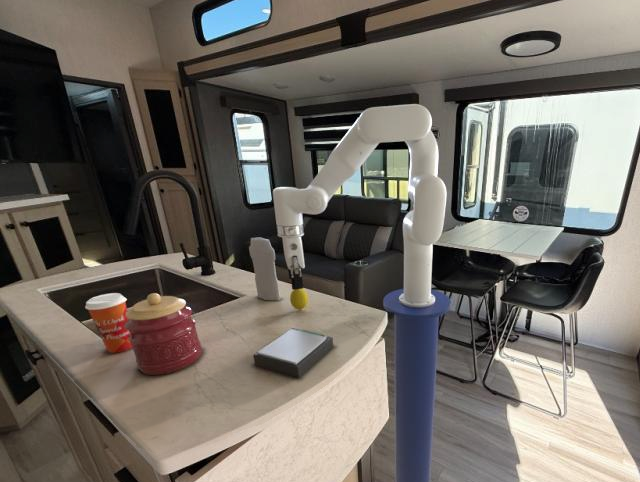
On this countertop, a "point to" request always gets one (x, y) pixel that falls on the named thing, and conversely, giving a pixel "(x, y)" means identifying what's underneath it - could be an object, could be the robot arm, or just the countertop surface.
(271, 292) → the grey stone slab
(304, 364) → the scale
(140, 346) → the kitchen canister
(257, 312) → the countertop surface
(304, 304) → the lemon
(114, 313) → the paper cup
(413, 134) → the robot arm
